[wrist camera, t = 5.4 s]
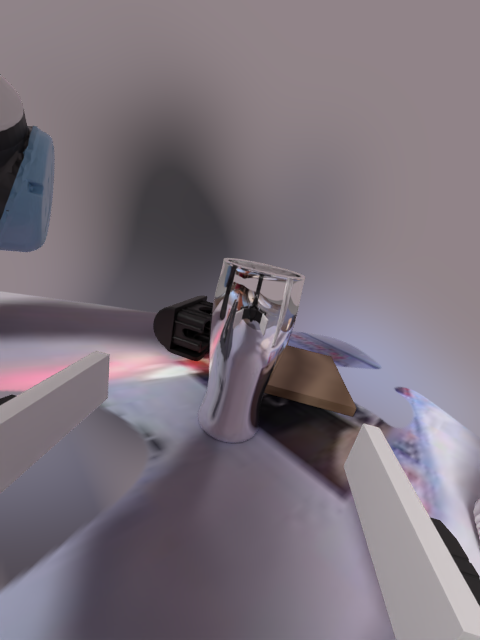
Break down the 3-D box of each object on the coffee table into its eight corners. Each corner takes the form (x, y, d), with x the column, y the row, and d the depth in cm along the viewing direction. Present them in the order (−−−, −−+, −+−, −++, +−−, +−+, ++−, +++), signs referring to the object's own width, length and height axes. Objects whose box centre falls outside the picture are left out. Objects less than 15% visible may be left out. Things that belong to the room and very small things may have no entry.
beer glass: (271, 414, 26) (314, 275, 21) (246, 462, 20) (298, 281, 15) (215, 388, 28) (242, 258, 24) (177, 423, 22) (203, 256, 17)
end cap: (185, 327, 43) (190, 291, 41) (222, 339, 42) (229, 302, 40) (150, 347, 34) (154, 301, 32) (195, 364, 33) (203, 316, 30)
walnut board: (237, 385, 30) (239, 377, 29) (249, 342, 43) (251, 336, 42) (352, 416, 29) (356, 408, 28) (328, 362, 42) (331, 356, 41)
